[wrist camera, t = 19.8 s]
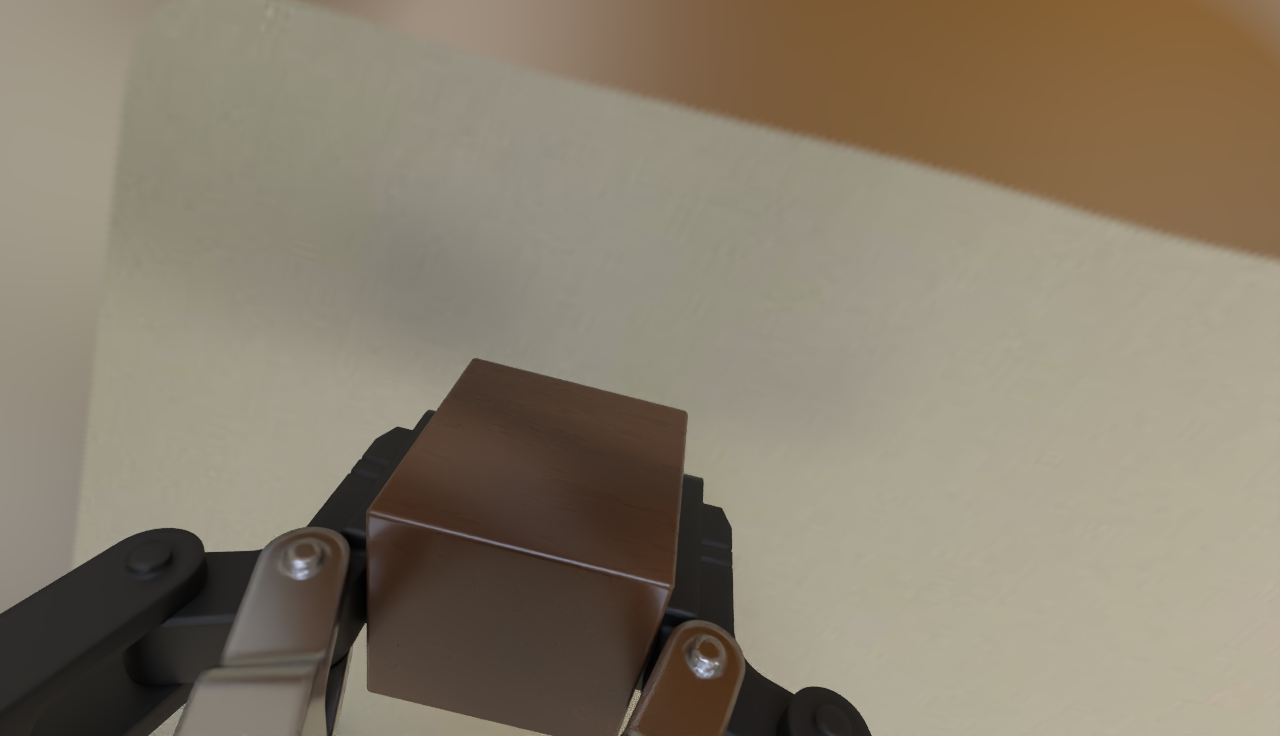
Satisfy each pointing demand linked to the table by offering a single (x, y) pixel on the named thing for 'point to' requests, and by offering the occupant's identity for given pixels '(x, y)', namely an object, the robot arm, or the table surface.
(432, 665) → the block
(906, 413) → the table surface
